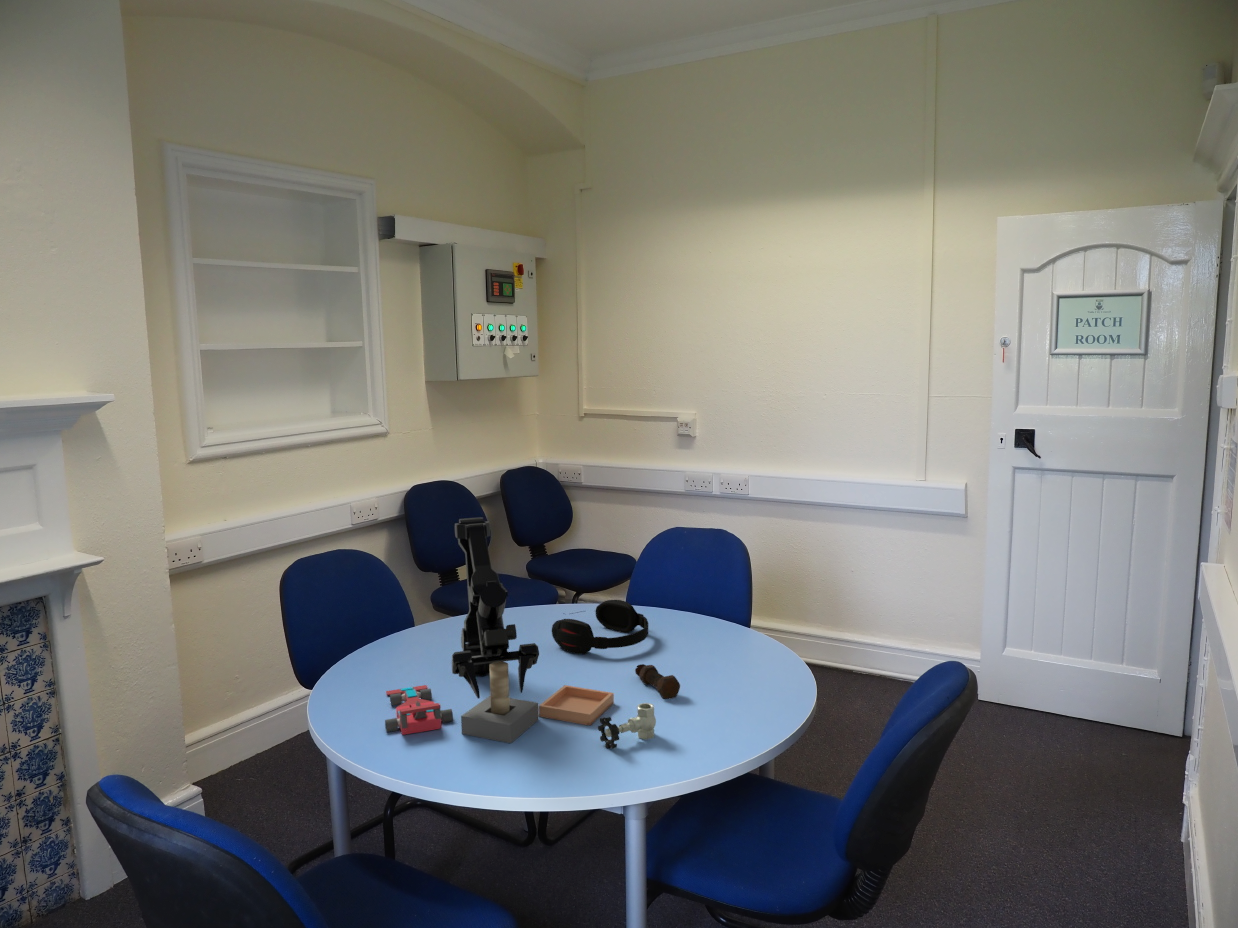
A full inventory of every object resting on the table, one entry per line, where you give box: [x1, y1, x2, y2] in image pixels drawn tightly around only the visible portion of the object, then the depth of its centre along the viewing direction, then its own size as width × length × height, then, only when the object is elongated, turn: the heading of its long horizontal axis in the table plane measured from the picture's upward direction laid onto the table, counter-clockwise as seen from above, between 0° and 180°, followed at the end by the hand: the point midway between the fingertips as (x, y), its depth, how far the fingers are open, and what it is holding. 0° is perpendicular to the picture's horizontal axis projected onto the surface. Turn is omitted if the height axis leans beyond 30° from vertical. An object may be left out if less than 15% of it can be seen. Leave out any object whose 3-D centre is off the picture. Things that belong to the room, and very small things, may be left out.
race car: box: [384, 684, 454, 736], centre depth 191 cm, size 14×6×25 cm
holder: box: [460, 695, 539, 744], centre depth 181 cm, size 12×12×4 cm
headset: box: [551, 599, 649, 655], centre depth 236 cm, size 28×26×9 cm
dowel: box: [489, 661, 510, 715], centre depth 181 cm, size 4×4×14 cm
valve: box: [597, 702, 657, 750], centre depth 174 cm, size 7×7×12 cm
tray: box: [538, 684, 615, 726], centre depth 190 cm, size 13×13×2 cm
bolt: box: [634, 663, 681, 700], centre depth 202 cm, size 6×5×15 cm
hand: (500, 694), depth 180 cm, fingers open, 9 cm apart
